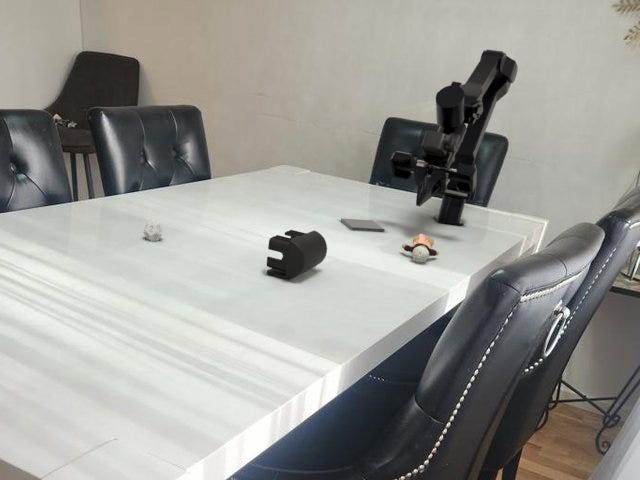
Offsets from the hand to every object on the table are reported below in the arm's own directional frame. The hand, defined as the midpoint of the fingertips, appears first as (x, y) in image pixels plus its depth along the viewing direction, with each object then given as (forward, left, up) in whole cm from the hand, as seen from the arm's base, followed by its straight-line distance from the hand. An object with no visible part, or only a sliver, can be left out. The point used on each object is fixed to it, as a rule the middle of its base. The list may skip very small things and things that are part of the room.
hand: (417, 204), depth 139 cm
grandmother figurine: (+5, +1, -6) cm, 8 cm away
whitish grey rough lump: (+23, -53, -8) cm, 58 cm away
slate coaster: (-9, -10, -8) cm, 16 cm away
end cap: (+34, -26, -8) cm, 43 cm away
